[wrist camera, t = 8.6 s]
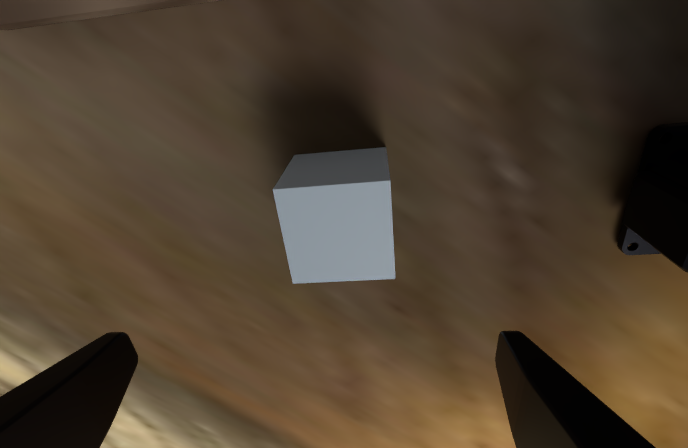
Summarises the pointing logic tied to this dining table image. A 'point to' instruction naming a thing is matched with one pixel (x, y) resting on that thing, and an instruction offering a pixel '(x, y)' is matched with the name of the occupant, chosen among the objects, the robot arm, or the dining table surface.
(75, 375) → the robot arm
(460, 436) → the dining table surface
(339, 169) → the grey blue cube
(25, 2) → the walnut base
